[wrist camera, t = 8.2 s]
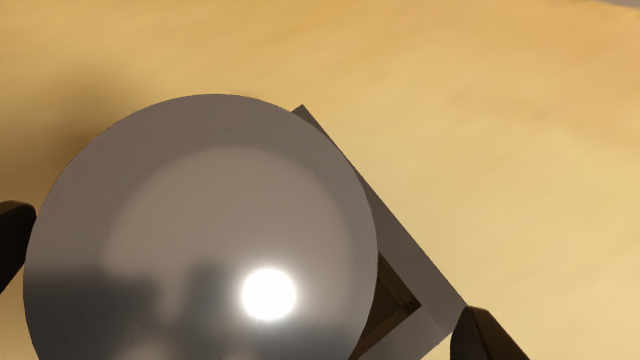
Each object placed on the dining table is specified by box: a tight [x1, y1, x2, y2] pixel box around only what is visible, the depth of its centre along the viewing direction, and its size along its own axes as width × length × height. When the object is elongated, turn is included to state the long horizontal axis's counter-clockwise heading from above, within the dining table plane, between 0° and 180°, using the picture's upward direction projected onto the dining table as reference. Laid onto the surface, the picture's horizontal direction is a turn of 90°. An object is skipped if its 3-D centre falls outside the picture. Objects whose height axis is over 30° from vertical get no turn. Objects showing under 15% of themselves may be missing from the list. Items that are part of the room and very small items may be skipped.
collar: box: [292, 104, 468, 360], centre depth 16 cm, size 9×9×4 cm
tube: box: [23, 94, 378, 360], centre depth 12 cm, size 5×5×12 cm
